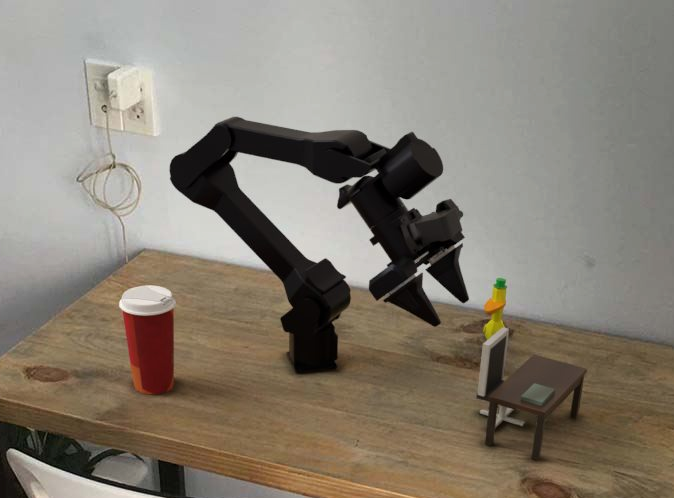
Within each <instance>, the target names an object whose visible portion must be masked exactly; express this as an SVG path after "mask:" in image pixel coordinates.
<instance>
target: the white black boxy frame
mask: <svg viewBox="0 0 674 498" xmlns="http://www.w3.org/2000/svg"><path fill="white" fill-rule="evenodd" d="M509 331H510V329H509V328H508V327H505V328H504V327H502V328H501V329H500V330H499V331H497V332H496V333H495V334H494V335H493V336H491V337H490V338H489V339H488V340H487V339H486V340H485V341H483V343H482V349H481V355H480V367H479V376H478V386H477V393H476V396H475V397H476V399H478V400H481V401H484V402H488V403H490V401H488V398H489V395H490V394H491V393H492V392H493V391H495V390H496V389H497V388H498V387H499V386H500V385H501V384H502V383H503V382H504V381H505V380H504V376H505V369H506V360H507V349H508V342H509ZM498 406H499V412H498V413H497V416H496V424H495V429H496V428H497V427H498V426H500V424H501V423H502V422H503V421H504V422H507V423H510V424H514V425H517V426H520V427H521V428H526V426H527V424H526V422H525V421H523V420H519V419H517V418H513V417H510V416H509V415H510V414H511V413H513V412H514V410H515V411H517V410H518V409H515V408H512V407H509V406H505V405H502V404H498ZM488 412H489V410H487V409H483V408H481V409H479V410H478V411H477V413H478V415H484V416H487V417H488Z"/></svg>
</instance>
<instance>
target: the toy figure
mask: <svg viewBox="0 0 674 498" xmlns="http://www.w3.org/2000/svg"><path fill="white" fill-rule="evenodd" d="M506 282H507V279H506V278H503V277H497V278H495V283H494V284H493V285H492V292H491V293H492V294H491V298H489V299H488V300H487V301H486V302H485V303H484V306H483V311H484V312H485V314H486V315H488V316H491V319H490V320H489V321H488V322H487V323H485V324H484V325H483V330H482V334H484V337H485V339H486V341H487V340H488V339H489V338H490V337H491V336H493V335H494V334H495V333H496V332H497V331H499V330H500V329H501V328H502V327H504V328H506V325H505V324H504V321H503V320H502V318H503V314H504V309H505V307H506V304H507V300H506V297H507V296H506V295H507V288H508V286H507V285H506Z"/></svg>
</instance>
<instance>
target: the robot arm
mask: <svg viewBox="0 0 674 498" xmlns="http://www.w3.org/2000/svg"><path fill="white" fill-rule="evenodd" d="M238 154H244V155H249V156H254V157H259V158H264V159H268V160H273V161H279V162H283V163H288V164H292V165H297V166H300V167H303V168H305V169H306V170H307V171H308V172H310V173H311V174H312V175H313V176H315V177H318V178H320V179H323V180H325V181H327V182H330V183H332V184H336V185H337V184H338V185H339V184H340V185H341V184H344V183H346V182H349V181H350V180H352V179H353V178H355V179H356V178H358V180H357V181H356V182H355V183H353V184H347V183H346V184H344V185H343V186H341V187H339V188H338V199H337V203H336V208H337V209H338V210H342V209H344V208H346V207H348V206H349V205H351V204H352V206H353V207H354V209H355V210H356V212H357V213H358V215H359V216H360V218H361V219H362V221H363V222H364V223H365V225H366V226H367V228H368V230H369V231H370V232H371V234H372V235H373V236H372V237H370V238H369V240H368V241H369V242H370V244H371V245H372V246H373V247H374V246H376V245H377V244H379V245H380V247H381V248H382V250H383V251H384V253H385V254H386V256H387V257H388V259H389V260H390V262H389V263H387V264H386V268H384V269H382V270H381V271H380V272H379V273H377V274H376V275H375V276H373V277H372V278H370V279H369V280H368V291H369V293H370V294H371V295H372V297H373V298H374V299H375V301H376V302H378V301H379V300H381V299H382V298H383V297H384V296H386V295H388V296H386V297H385V298H384V299H383V302H384V303H385V304H387V303H390V304H392V305H394V306H396V307H398V308H400V309H402V310H403V311H406V312H408V313H410V314H412V315H413V316H415V317H417V318H418V319H420V320H422V321H424V322H426V323H427V324H428V325H431V326H432V327H434V328H436V327H438V326H440V325H441V323H442V321H441V319H440V316H439V314H438V313H437V311H436V309H435V307H434V306H433V304H432V301H431V300H430V298H429V297H428V294H426V292H425V289H424V287H423V279H424V272H420V273H419V274H417V273H418V268H419V267H421V266H422V265H425V266H427V265H429V266H428V267H427V268H425V271H426V272H427V273H428V274H429V275H430V276H431V277H432V278H433V279H434V280H436V281H437V282H438V283H439V284H440V286H442V287H443V288H444V289H445V290H446V291H447V292H449V293H450V294H451V295H452V297H454V298H455V299H457V300H458V301H459V302H460V303H461V304H465V303H467V302H469V301H470V296H469V292H468V290H467V287H466V283H465V280H464V277H463V274H462V270H461V265H460V261H459V260H460V255H461V251H462V249H463V247H464V243H463V242H462V243H460V242H461V241H462V240H464V239H465V238H466V237H465V235H464V234H463V227H462V223H461V219H462V218H463V217H464V211H462V210H460V208H459V206H458V205H457V204H456V203H455V201H453V199H452V198H448V199H444V200H442V201H439V202H438V203H436V206H435V211H432V212H430V213H428V214H426V215H422V214H421V212H420V211H419V210H418V209H417V208H415V207H412V208H411V209H408V207H407V206H406V204H405V203H404V202H403V200H407V201H408V200H411V199H412V198H414V197H416V195H418V194H420V193H421V192H422V191H423V190H424V189H425V188H426V187H428V186H429V185H430V184H432V183H433V182H435V181H436V180H437V179H439V178H440V177H441V176H442V175H443V173H444V163H443V160H442V158H441V156H440V154H439V152H438V151H437V149H436V148H435V147H433V146H431V145H430V144H429V143H428V142H427V141H425V140H423V139H421V138H418V136H417V135H416V134H415V132H414V131H410V132H408V133H406V134H404V135H403V136H402V137H400V138H399V139H398V141H397V142H396V144H395V145H394V146H392V147H391V148H390V147H388V146H384V145H382V144H379V143H377V142H375V141H372V140H370V139H369V138H368V135H367V134H366V133H365V132H363V131H360V130H359V129H358V130H357V129H335V130H333V129H332V130H326V131H325V130H324V131H317V132H316V131H315V132H313V131H311V132H310V131H305V130H300V129H295V128H290V127H284V126H278V125H273V124H268V123H263V122H257V121H253V120H247V119H245V118H243V117H240V116H231V117H229V118H226V119H224V120H221V121H218V122H217V123H215V124H214V125H213V126H212V128H211V129H210V130H209V131H207V133H206V134H205V135H204V136H203V137H201V139H199V140H198V141H196V142H195V143H194V144H193V145H192V146H191V147H190V148H188V149H187V150H186V151H183V152H181V153H179V154H177V155H174V156H173V158H172V159H171V161H170V164H169V169H168V171H169V175H170V177H169V180H170V182H171V185H172V186H173V187H174V188H175V189H176V191H178V192H179V193H180V194H181V195H183V196H184V197H185V198H187V200H189V201H190V202H192V203H193V204H196V205H198V206H201V207H203V208H206V209H208V210H211V211H212V212H214V213H216V214H217V215H218V217H219V218H221V220H222V221H223V222H224V223H225V224H226V225H227V226H228V227H229V228H231V230H232V231H233V232H234V233H235V234H236V235H237V236H238V237H239V238H240V239H241V241H242V242H243V243H244V244H245V245H246V246H247V247H248V248H249V249H250V250H251V251H252V252H253V253H254V254H255V255H256V256H257V257H258V258H259V259H260V260H261V262H262V263H264V264H265V265H266V267H267V268H268V269H269V270H270V271H271V272H272V273H273V274H274V275H275V276H276V277H277V278H278V279H279V280H280V281H281V283H282V285H283V288H284V291H285V296H286V298H287V302H288V303H289V305H290V306H291V309H290V310H289V311H288V310H287V312H285V313H284V314H283V315H282V316H281V317H280V318H279V319H280V324H281V326H282V330H283V332H285V333H288V351H286V353H285V356H286V358H287V360H288V361H289V363H290V365H291V368H292V369H293V372H294V373H296V374H302V373H303V374H304V373H313V372H314V373H315V372H321V371H323V372H324V371H331V370H332V371H333V370H337V369H338V364H337V362H336V361H337V360H338V357H339V356H338V355H339V354H338V353H339V349H338V346H339V335H338V334H337V332H336V329H335V328H336V326H335V325H334V323H333V322H335V321H336V320H337V321H338V320H339V319H340V318H341V315H342V313H343V312H344V311H346V310H347V309H348V308H349V306H350V305H351V300H352V296H351V291H352V290H351V288H350V286H349V284H348V283H347V281H346V278H347V276H346V275H344V274H343V273H341V272H340V271H339V270H338V269H337V268H336V267H335V266H334V264H333V263H332V261H331V260H329V259H328V258H326V257H325V258H323V259H322V260H320V261H318V262H316V261H313V260H311V259H309V258H308V257H306V256H305V255H304V254H303V253H302V252H301V251H300V250H299V249H298V247H296V246H295V244H294V243H293V242H292V241H291V240H290V239H289V238H288V237H287V236H286V235H285V234H284V233H283V232H282V231H281V230H280V229H279V227H277V226H276V225H275V223H274V222H272V221H271V219H269V217H268V216H267V215H266V214H265V213H264V212H263V211H262V210H261V209H260V208H259V207H258V206H257V205H256V204H255V203H254V202H253V201H252V200H251V198H249V197H248V196H247V194H246V193H245V192H244V191H243V190H242V189H241V188H240V186H239V183H238V179H237V175H236V172H235V169H234V167H233V166H232V165H231V163H232V162H233V161H234V160H235V159H236V157H237V156H238ZM374 171H377V174H376V175H374V176H372V175H368V174H370V173H372V172H374ZM402 199H403V200H402ZM458 243H460V244H459V245H458V246H456V245H457V244H458ZM455 246H456V247H455ZM416 274H417V275H416Z"/></svg>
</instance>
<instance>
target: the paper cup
mask: <svg viewBox="0 0 674 498" xmlns="http://www.w3.org/2000/svg"><path fill="white" fill-rule="evenodd" d="M176 304H177V302H176V298H174V297H173V293H172V292H171V290H170V289H168V288H166V287H164V286H159V285H151V284H150V285H140V286H134V287H132V288H129V289H127V290H125V291H124V292H123V294H122V295H121V299H120V300H119V303H118V306H119V309H120V310H121V311H122V317H123V324H124V331H125V337H126V344H127V350H128V351H127V352H128V356H129V363H130V369H131V376H132V380H133V385H134V389H135V391H137V392H139V393H140V394H144V395H161V394H165V393H167V392H169V391H170V390H172V389H173V387H174V382H175V381H174V380H175V379H174V378H175V335H174V334H175V330H174V329H175V323H174V322H175V321H174V319H175V316H174V315H175V314H174V313H175V310H174V308H175V307H176Z"/></svg>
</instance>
